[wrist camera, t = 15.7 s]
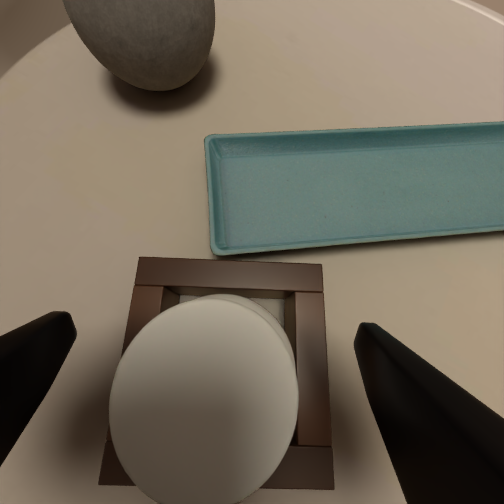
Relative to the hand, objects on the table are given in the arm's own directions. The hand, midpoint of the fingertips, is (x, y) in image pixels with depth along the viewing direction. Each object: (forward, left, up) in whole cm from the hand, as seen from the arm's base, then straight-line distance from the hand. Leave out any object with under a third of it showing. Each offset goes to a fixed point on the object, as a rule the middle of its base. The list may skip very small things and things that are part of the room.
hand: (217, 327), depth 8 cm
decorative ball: (+18, +14, -9) cm, 24 cm away
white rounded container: (-2, -1, -9) cm, 9 cm away
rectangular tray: (+14, -7, -9) cm, 18 cm away
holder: (-1, -1, -9) cm, 9 cm away
